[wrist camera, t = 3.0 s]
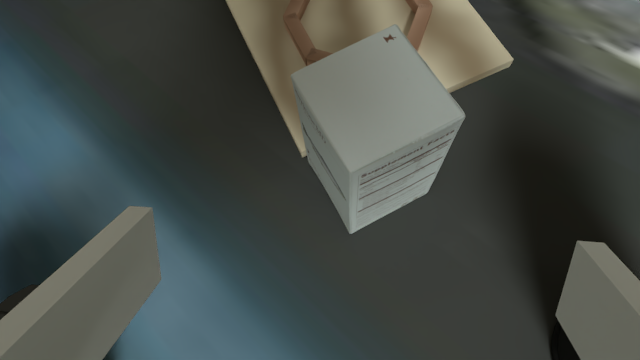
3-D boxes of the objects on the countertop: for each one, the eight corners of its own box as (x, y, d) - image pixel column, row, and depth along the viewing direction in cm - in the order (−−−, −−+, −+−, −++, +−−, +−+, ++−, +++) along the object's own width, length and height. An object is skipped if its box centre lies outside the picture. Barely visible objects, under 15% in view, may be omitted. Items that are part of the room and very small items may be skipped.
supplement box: (306, 161, 37) (285, 69, 25) (383, 123, 38) (398, 17, 26) (348, 238, 34) (347, 175, 23) (431, 195, 35) (471, 113, 24)
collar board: (400, -76, 47) (402, -96, 45) (509, 66, 39) (518, 50, 37) (222, -6, 45) (215, -24, 43) (302, 157, 37) (299, 145, 35)
